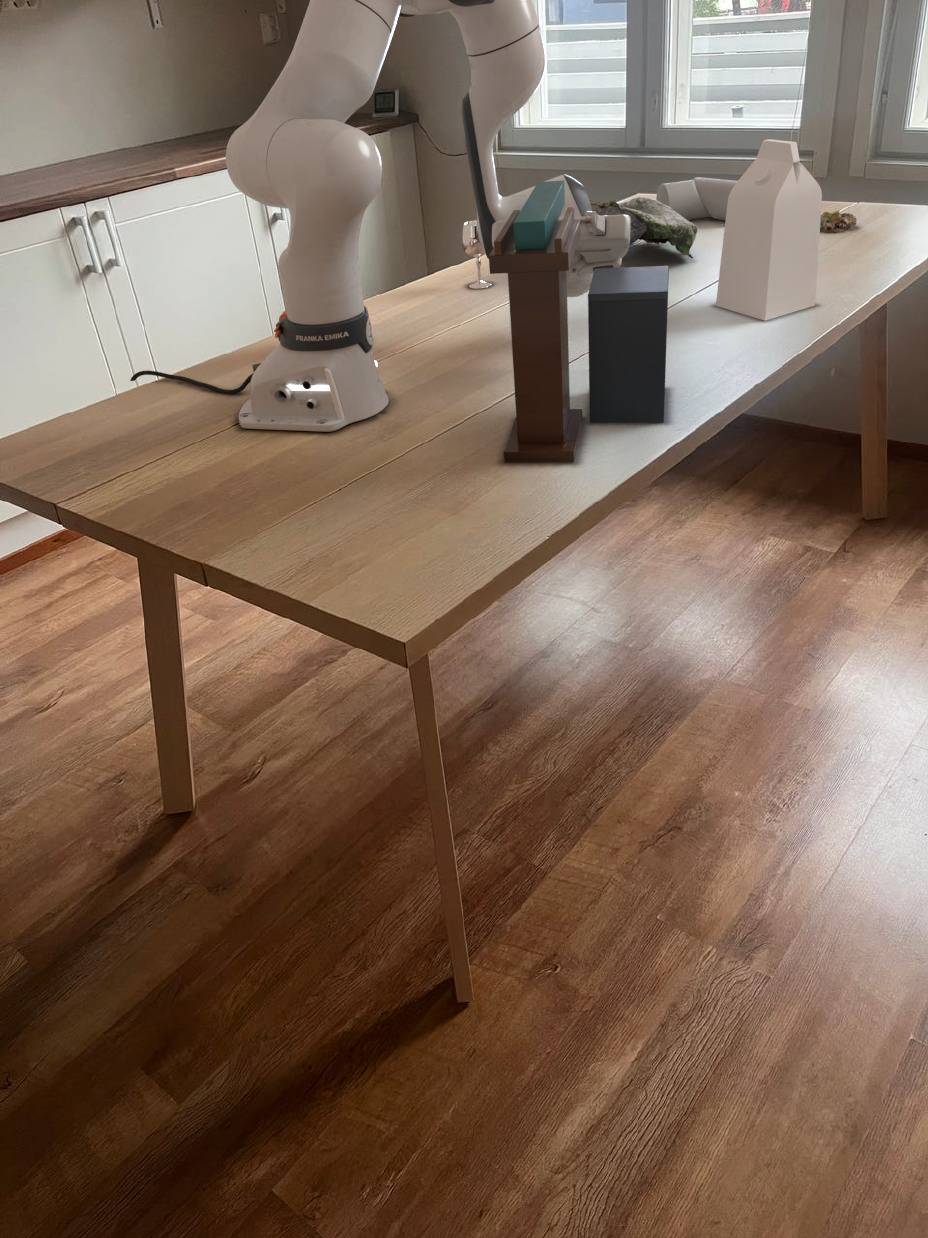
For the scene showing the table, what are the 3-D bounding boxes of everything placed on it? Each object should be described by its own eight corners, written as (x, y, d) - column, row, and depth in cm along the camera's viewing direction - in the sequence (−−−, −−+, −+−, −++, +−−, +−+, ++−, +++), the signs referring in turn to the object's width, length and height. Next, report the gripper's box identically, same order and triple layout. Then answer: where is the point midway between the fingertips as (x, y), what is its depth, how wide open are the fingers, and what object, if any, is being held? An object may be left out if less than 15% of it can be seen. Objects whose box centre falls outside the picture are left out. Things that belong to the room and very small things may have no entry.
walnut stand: (519, 416, 135) (508, 210, 120) (583, 415, 133) (579, 206, 118) (503, 465, 122) (487, 241, 107) (573, 465, 120) (567, 237, 105)
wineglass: (463, 289, 191) (457, 226, 184) (469, 281, 195) (464, 219, 189) (490, 289, 190) (486, 225, 183) (496, 281, 194) (492, 218, 187)
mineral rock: (861, 211, 206) (856, 209, 199) (858, 233, 207) (853, 231, 200) (809, 212, 210) (802, 210, 204) (807, 234, 212) (800, 232, 205)
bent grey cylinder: (732, 200, 230) (652, 211, 228) (739, 155, 222) (657, 166, 220) (762, 232, 218) (678, 244, 216) (770, 185, 210) (684, 197, 208)
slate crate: (595, 390, 141) (594, 268, 131) (664, 389, 139) (668, 265, 129) (589, 423, 131) (587, 293, 121) (663, 422, 129) (668, 291, 119)
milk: (815, 305, 164) (835, 138, 149) (765, 320, 160) (780, 150, 145) (764, 291, 173) (778, 132, 158) (715, 305, 169) (725, 143, 154)
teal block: (538, 206, 127) (537, 181, 125) (564, 204, 126) (564, 180, 125) (515, 250, 109) (513, 222, 107) (545, 248, 108) (544, 220, 106)
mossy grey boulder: (535, 241, 188) (549, 159, 184) (569, 266, 216) (582, 195, 212) (682, 259, 180) (700, 174, 176) (698, 283, 207) (713, 210, 204)
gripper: (499, 230, 148) (483, 198, 135) (632, 224, 144) (630, 191, 131) (498, 272, 149) (482, 244, 135) (631, 267, 145) (628, 238, 131)
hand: (556, 218), depth 133 cm, fingers open, 8 cm apart
